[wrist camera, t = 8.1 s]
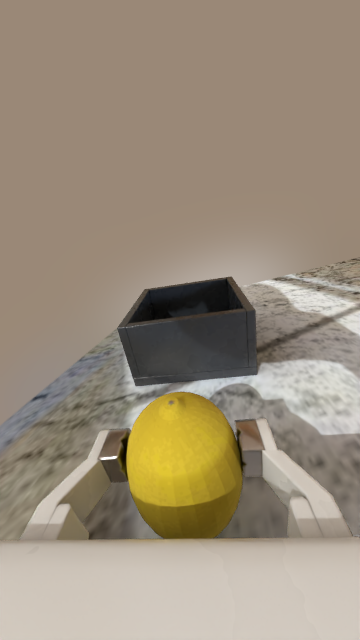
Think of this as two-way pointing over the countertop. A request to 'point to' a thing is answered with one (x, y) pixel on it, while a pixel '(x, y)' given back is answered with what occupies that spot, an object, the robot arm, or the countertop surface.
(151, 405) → the lemon
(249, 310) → the dark gray open box
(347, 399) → the countertop surface
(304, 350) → the countertop surface
